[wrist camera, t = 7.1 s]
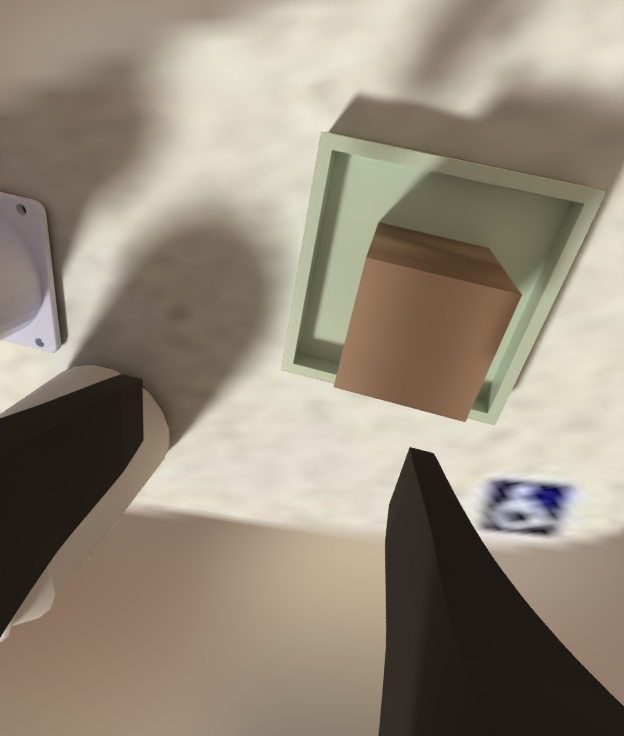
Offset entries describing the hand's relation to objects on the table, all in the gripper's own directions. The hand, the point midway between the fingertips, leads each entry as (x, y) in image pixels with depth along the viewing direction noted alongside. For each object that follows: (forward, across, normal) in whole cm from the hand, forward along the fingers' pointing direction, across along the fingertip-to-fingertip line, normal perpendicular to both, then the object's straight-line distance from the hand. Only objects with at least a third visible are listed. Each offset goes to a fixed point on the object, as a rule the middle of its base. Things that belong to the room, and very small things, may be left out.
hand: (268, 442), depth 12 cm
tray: (+10, -4, -2) cm, 11 cm away
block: (+10, -4, -2) cm, 11 cm away
